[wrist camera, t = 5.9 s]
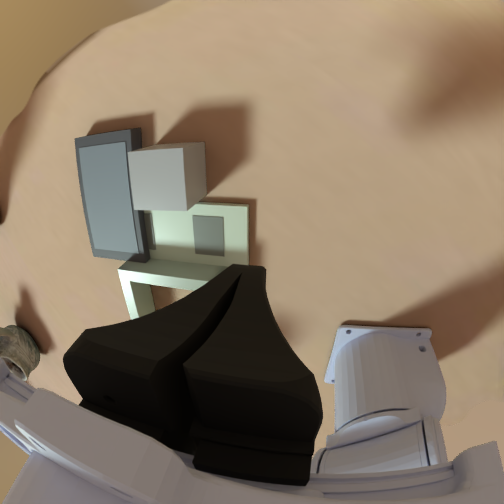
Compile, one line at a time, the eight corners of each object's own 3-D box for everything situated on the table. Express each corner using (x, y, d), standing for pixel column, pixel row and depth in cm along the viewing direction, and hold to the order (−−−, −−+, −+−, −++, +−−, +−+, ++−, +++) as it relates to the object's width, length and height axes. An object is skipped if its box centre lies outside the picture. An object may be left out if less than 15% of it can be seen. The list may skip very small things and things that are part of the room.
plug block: (207, 194, 21) (205, 141, 20) (187, 211, 18) (182, 147, 16) (153, 194, 22) (148, 145, 20) (126, 209, 19) (119, 153, 17)
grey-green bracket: (248, 204, 21) (239, 218, 18) (248, 330, 26) (241, 353, 24) (113, 200, 23) (92, 211, 20) (136, 311, 28) (122, 329, 26)
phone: (140, 127, 20) (129, 129, 18) (153, 255, 25) (145, 263, 23) (85, 136, 21) (74, 138, 19) (102, 249, 26) (93, 256, 24)
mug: (23, 347, 42) (-4, 378, 33) (1, 297, 36) (-34, 328, 27) (53, 364, 41) (25, 400, 32) (29, 312, 35) (-9, 350, 26)
